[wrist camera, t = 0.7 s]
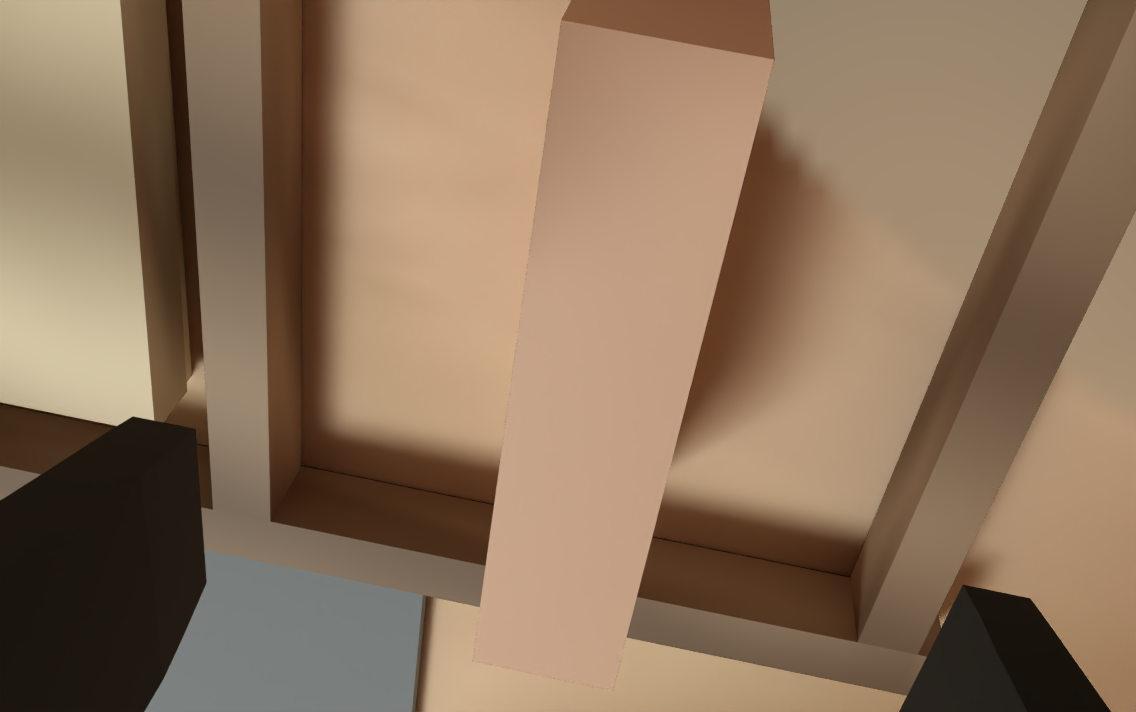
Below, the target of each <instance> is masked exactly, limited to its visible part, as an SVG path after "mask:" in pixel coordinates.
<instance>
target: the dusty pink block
mask: <svg viewBox="0 0 1136 712" xmlns="http://www.w3.org/2000/svg"><path fill="white" fill-rule="evenodd" d="M773 63H774V48H773V38H772V25H771V14H770V3H769V0H571V2H570V4H569V6H568V8H567V10H566V12H565V14H564V16H563V18H562V20H561V26H560V33H559V40H558V48H557V55H556V62H555V69H554V76H553V84H552V91H551V98H550V105H549V112H548V120H547V127H546V134H545V141H544V148H543V156H542V163H541V170H540V177H539V185H538V192H537V199H536V206H535V213H534V221H533V228H532V235H531V242H530V249H529V257H528V264H527V271H526V278H525V285H524V293H523V300H522V307H521V314H520V322H519V329H518V336H517V343H516V350H515V358H514V365H513V372H512V379H511V386H510V394H509V401H508V408H507V415H506V422H505V430H504V437H503V444H502V451H501V459H500V466H499V473H498V480H497V487H496V495H495V502H494V509H493V516H492V523H491V531H490V538H489V545H488V552H487V559H486V567H485V574H484V581H483V588H482V595H481V603H480V610H479V617H478V624H477V632H476V639H475V646H474V653H473V660H472V661H473V662H478V663H482V664H487V665H492V666H497V667H502V668H506V669H511V670H516V671H521V672H526V673H530V674H535V675H540V676H545V677H550V678H554V679H559V680H564V681H569V682H574V683H579V684H583V685H588V686H593V687H598V688H603V689H607V690H612V691H613V688H614V684H615V680H616V676H617V672H618V669H619V665H620V661H621V657H622V653H623V649H624V645H625V641H626V637H627V633H628V629H629V626H630V622H631V618H632V614H633V610H634V606H635V602H636V598H637V594H638V590H639V587H640V583H641V579H642V575H643V571H644V567H645V563H646V559H647V555H648V551H649V548H650V544H651V540H652V536H653V532H654V528H655V524H656V520H657V516H658V512H659V509H660V505H661V501H662V497H663V493H664V489H665V485H666V481H667V477H668V473H669V469H670V466H671V462H672V458H673V454H674V450H675V446H676V442H677V438H678V434H679V430H680V427H681V423H682V419H683V415H684V411H685V407H686V403H687V399H688V395H689V391H690V388H691V384H692V380H693V376H694V372H695V368H696V364H697V360H698V356H699V352H700V348H701V345H702V341H703V337H704V333H705V329H706V325H707V321H708V317H709V313H710V309H711V306H712V302H713V298H714V294H715V290H716V286H717V282H718V278H719V274H720V270H721V267H722V263H723V259H724V255H725V251H726V247H727V243H728V239H729V235H730V231H731V228H732V224H733V220H734V216H735V212H736V208H737V204H738V200H739V196H740V192H741V188H742V185H743V181H744V177H745V173H746V169H747V165H748V161H749V157H750V153H751V149H752V146H753V142H754V138H755V134H756V130H757V126H758V122H759V118H760V114H761V110H762V107H763V103H764V99H765V95H766V91H767V87H768V83H769V79H770V75H771V71H772V67H773Z"/></svg>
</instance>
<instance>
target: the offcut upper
mask: <svg viewBox="0 0 1136 712" xmlns="http://www.w3.org/2000/svg"><path fill="white" fill-rule="evenodd" d="M186 392H187V383H186V365H185V348H184V331H183V314H182V296H181V279H180V262H179V245H178V228H177V210H176V193H175V176H174V159H173V142H172V124H171V107H170V90H169V73H168V56H167V38H166V21H165V4H164V0H0V402H2V403H7V404H11V405H16V406H21V407H26V408H31V409H36V410H41V411H46V412H51V413H56V414H61V415H66V416H70V417H75V418H80V419H85V420H90V421H95V422H100V423H105V424H110V425H115V426H118V425H120V424H121V423H123V422H124V421H126V420H128V419H129V418H131V417H133V416H134V417H139V418H144V419H149V420H153V421H158V422H163V423H164V421H165V420H166V419H167V417H168V416H169V415H170V413H171V412H172V411H173V409H174V408H175V406H176V405H177V404H178V402H179V401H180V400H181V398H182V397H183V396H184V394H185V393H186Z"/></svg>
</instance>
